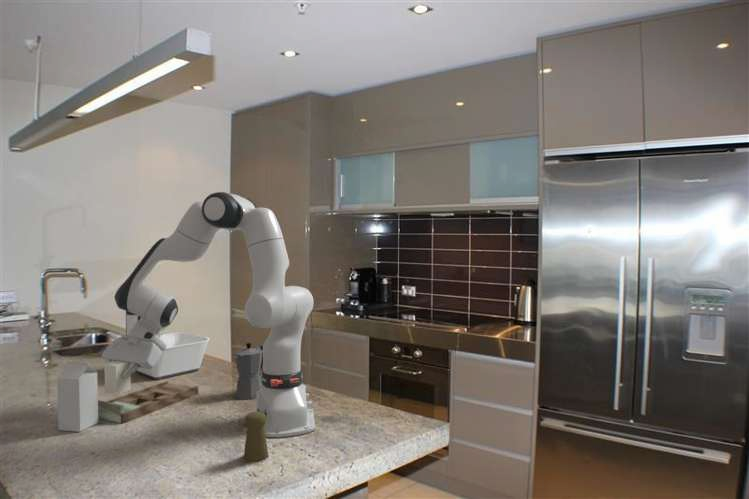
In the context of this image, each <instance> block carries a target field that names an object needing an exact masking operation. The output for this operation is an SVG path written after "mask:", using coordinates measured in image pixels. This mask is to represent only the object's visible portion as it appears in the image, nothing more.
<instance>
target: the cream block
mask: <svg viewBox="0 0 749 499" xmlns="http://www.w3.org/2000/svg"><path fill="white" fill-rule="evenodd" d="M129 367H130V362H123V361H114V362H111V363H107V362H106V363H104V392H105V393H108V394H114V395H117V394H118V395H119V394H121V393H124V392H127V391H130V390H131V389H132V388H131V380H132V379H131V375H130V376H129V377H128V379H123V378H122V377H121V374H122V372H123V371H126V370H127V369H128V368H129Z"/></svg>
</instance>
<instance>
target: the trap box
mask: <svg viewBox="0 0 749 499" xmlns="http://www.w3.org/2000/svg"><path fill="white" fill-rule="evenodd" d="M197 395H199V386H198V385H196V386H186V385H180V384H174V383H169V381H163V382H161V383H158V384H155V385H151V386H149V387H146V388H143V389H140V390H139V389H138V390H137V391H134V392H131V393H128V394H125V395H122V396H119V397H116V398H112V399H111V400H108V401H104V400H99V399H98V420H99V419H101V420H105V421H110V422H115V423H117V424H118V423H119V424H125V423H128V422H130V421H131V422H132V421H133V420H136V419H138V418H141V417H143V416H146V415H149V414H151V413H154V412H156V411H159V410H161V409H163V408H166V407H169V406H171V405H173V404H174V405H175V404H176V403H179V402H181V401H184V400H186V399H189V398H191V397H194V396H197Z"/></svg>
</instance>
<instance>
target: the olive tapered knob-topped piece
mask: <svg viewBox="0 0 749 499" xmlns="http://www.w3.org/2000/svg"><path fill="white" fill-rule="evenodd" d="M244 417H245V418H244V425H245V427H246V434H245V441H244V442H245V444H244V451H243V461H244V462H246V463H249V462H258V463H260V462H259V461H262V460H265V459H266V458H267V459H269V450H268V443H267V437H266V435H265V429H264V425H265V424H266V415H265V414H264V413H262V412H256V411H252V412H249V413H247V414H246V415H245V416H244ZM267 459H266V460H267ZM266 460H265V461H266ZM262 462H263V461H262Z"/></svg>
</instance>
